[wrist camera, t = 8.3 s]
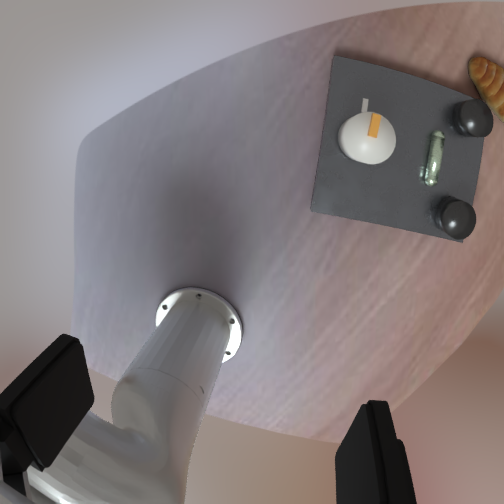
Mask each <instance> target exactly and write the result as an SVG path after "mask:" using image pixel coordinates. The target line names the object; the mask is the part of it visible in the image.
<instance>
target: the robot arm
mask: <svg viewBox="0 0 504 504" xmlns="http://www.w3.org/2000/svg"><path fill="white" fill-rule="evenodd" d="M200 294H201V295H200ZM155 320H156V329H155V331H154V332H153V334H152V335H151V336H150V338H149V339H148V341H147V342H146V343H145V345H144V346H143V348H142V349H141V350H140V352H139V353H138V355H137V356H136V357H135V359H134V360H133V362H132V363H131V364H130V366H129V367H128V369H127V370H126V372H125V373H124V374H123V376H122V377H121V379H120V380H119V382H118V383H117V385H116V387H115V389H114V392H113V395H112V402H111V412H112V419H113V424H111V423H109V422H107V421H105V420H103V419H102V418H100V417H99V416H97V415H96V414H94V413H93V412H91V411H90V408H91V407H92V405H93V403H94V394H93V390H92V386H91V382H90V377H89V373H88V369H87V364H86V359H85V355H84V350H83V346H82V344H80V341H79V339H78V338H75V337H72V336H70V335H67V334H62V335H60V336H59V337H58V338H57V339H56V340H55V341H54V342H53V343H52V344H51V345H50V346H48V348H46V349H45V350H44V351H43V352H42V353H41V354H40V355H39V356H38V357H37V358H36V359H35V360H34V361H33V362H32V363H31V364H30V365H29V366H28V367H27V368H26V369H25V370H24V371H23V372H22V373H21V374H20V375H19V376H18V377H17V378H16V379H15V380H14V381H13V382H12V383H11V384H10V385H9V386H8V387H7V388H6V389H5V390H4V391H3V392H2V393H1V394H0V504H184V502H185V495H186V485H187V477H188V476H187V475H188V469H189V463H190V458H191V454H192V450H193V447H194V443H195V440H196V437H197V434H198V431H199V427H200V425H201V422H202V419H203V416H204V413H205V411H206V408H207V405H208V402H209V399H210V396H211V393H212V390H213V388H214V385H215V382H216V379H217V376H218V373H219V370H220V367H221V364H222V363H223V362H225V361H227V360H228V359H230V358H231V357H232V356H233V355H234V354H235V353H236V352H237V350H238V348H239V347H240V344H241V340H242V334H243V331H242V324H241V321H240V318H239V316H238V314H237V312H236V311H235V309H234V308H233V307H232V306H231V304H229V303H228V302H227V301H226V300H225V299H224V298H222V297H221V296H219V295H217V294H216V293H214V292H211V291H209V290H206V289H201V288H193V287H189V288H182V289H179V290H176V291H174V292H172V293H170V294H169V295H168V296H167V297H166V298H165V299H164V300H163V301H162V302H161V303H160V305H159V307H158V309H157V312H156V317H155ZM335 471H336V501H337V504H417V502H416V497H415V492H414V487H413V482H412V478H411V473H410V469H409V464H408V460H407V455H406V452H405V447H404V444H403V442H402V441H401V440H400V439H397V437H396V433H395V429H394V425H393V421H392V417H391V413H390V409H389V405H388V402H387V401H377V400H369V401H368V402H367V404H362V405H361V407H360V409H359V411H358V413H357V415H356V417H355V419H354V421H353V423H352V425H351V426H350V428H349V430H348V432H347V434H346V436H345V438H344V439H343V441H342V443H341V445H340V446H339V448H338V450H337V452H336V456H335Z"/></svg>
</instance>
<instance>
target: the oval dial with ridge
mask: <svg viewBox="0 0 504 504" xmlns="http://www.w3.org/2000/svg"><path fill="white" fill-rule="evenodd" d="M338 142H339V146H340V148H341V150H342V151H343V153H344V154H345V155H346V156H347V157H349V158H350V159H352V160H355V161H359V162H362V163H366V164H378V163H381V162H383V161H385V160H387V159H388V158H389V157H390V156H391V154H392V153H393V151H394V148H395V144H396V135H395V131H394V129H393V127H392V125H391V123H390V122H389V121H388V120H387V119H386V118H385V117H383V116H382V115H380V114H378V113H375V112H362V113H359V114H357V115H355V116H353V117H351V118H349V119H347V120H346V121H345V122H344V123H343V124H342V125H341V127H340V129H339V132H338Z"/></svg>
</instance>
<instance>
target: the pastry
mask: <svg viewBox="0 0 504 504" xmlns="http://www.w3.org/2000/svg"><path fill="white" fill-rule="evenodd" d="M468 71H469V76H470V78H471V80H472V81H473V82H474V84H475V86H476V88H477V90H478V92H479V95H480V97H481V98H482V99H483V100H484V101H485V102H486V104H487V105H488V106H489V107H490V109H491V110H492V112H493V113H494V114H495V115H496V116H497V117H498V118H499V119H500V120H501V121H502V122H503V123H504V69H503V68H502V67H500V66H498V65H497V64H496V63H493V62H491V61H490V60H488V59H486V58H484V57H476V58H471V60H470V61H469V65H468Z"/></svg>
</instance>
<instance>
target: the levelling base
mask: <svg viewBox="0 0 504 504" xmlns="http://www.w3.org/2000/svg"><path fill="white" fill-rule="evenodd" d="M362 112H375V113H378V114H380V115H382V116H383V117H385V118H386V119H387V120H388V121H389V122H390V123H391V125H392V127H393V129H394V131H395V135H396V144H395V148H394V151H393V153H392V154H391V156H390V157H389V158H388V159H387V160H385V161H383V162H381V163H378V164H366V163H362V162H359V161H355V160H352V159H350V158H349V157H347V156H346V155H345V154H344V153H343V151H342V150H341V148H340V146H339V142H338V132H339V129H340V127H341V125H342V124H343V123H344V122H345V121H346V120H347V119H349V118H351V117H353V116H355V115H357V114H359V113H362ZM492 128H493V115H492V112H491V110H490V108H489V107H488V106H487V104H486V103H485V102H483V101H482V100H479V99H474V98H472V97H470V96H467V95H465V94H463V93H460V92H458V91H455V90H453V89H450V88H447V87H445V86H442V85H439V84H437V83H434V82H431V81H428V80H425V79H422V78H419V77H416V76H413V75H410V74H407V73H403V72H400V71H397V70H393V69H390V68H386V67H382V66H379V65H375V64H371V63H367V62H363V61H358V60H354V59H349V58H345V57H340V56H335V55H334V57H333V59H332V66H331V75H330V82H329V90H328V98H327V105H326V112H325V119H324V126H323V133H322V140H321V146H320V153H319V159H318V165H317V171H316V177H315V183H314V189H313V195H312V201H311V207H310V209H311V211H312V212H317V213H323V214H328V215H334V216H339V217H344V218H350V219H355V220H360V221H365V222H370V223H375V224H380V225H385V226H390V227H394V228H399V229H404V230H409V231H413V232H418V233H422V234H427V235H431V236H436V237H440V238H444V239H448V240H453V241H457V242H461V243H463V240H464V239H465V238H466V237H468V236H469V235H470V234H471V233H472V231H473V230H474V227H475V224H476V214H475V211H474V209H473V207H472V204H473V199H474V195H475V190H476V185H477V180H478V174H479V169H480V163H481V157H482V150H483V142H484V137H486V136H487V135H489V134H490V132H491V131H492Z"/></svg>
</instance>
